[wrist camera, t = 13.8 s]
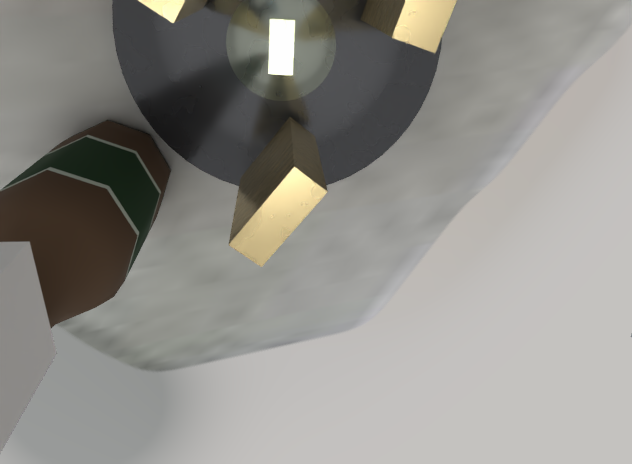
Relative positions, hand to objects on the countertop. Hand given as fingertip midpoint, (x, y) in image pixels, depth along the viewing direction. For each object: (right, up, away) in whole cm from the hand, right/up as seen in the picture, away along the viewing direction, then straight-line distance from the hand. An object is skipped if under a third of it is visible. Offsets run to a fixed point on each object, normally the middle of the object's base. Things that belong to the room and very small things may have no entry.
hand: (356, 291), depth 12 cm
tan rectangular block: (-4, +6, +26) cm, 27 cm away
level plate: (-3, +14, +24) cm, 28 cm away
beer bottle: (-15, +6, +28) cm, 32 cm away
